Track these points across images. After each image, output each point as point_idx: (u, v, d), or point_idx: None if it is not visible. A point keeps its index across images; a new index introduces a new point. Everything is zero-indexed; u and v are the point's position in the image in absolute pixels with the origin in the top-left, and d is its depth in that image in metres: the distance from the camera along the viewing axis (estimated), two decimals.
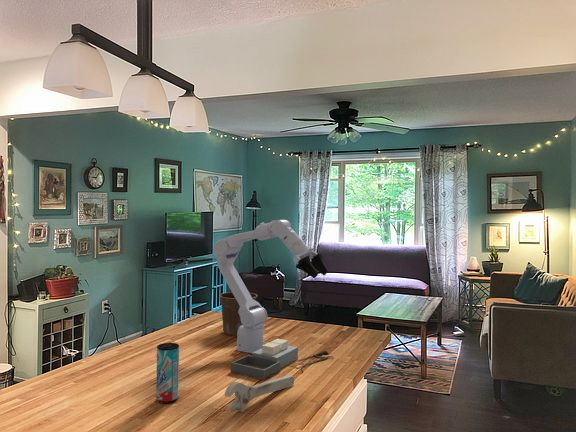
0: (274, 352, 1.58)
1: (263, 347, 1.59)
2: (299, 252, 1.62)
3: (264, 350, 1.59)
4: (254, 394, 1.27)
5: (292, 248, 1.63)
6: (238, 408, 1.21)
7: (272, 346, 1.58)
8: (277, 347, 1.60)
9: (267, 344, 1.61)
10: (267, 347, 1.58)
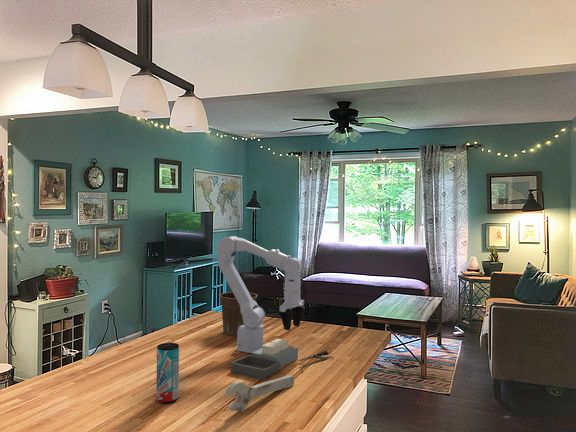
0: (274, 352, 1.58)
1: (263, 347, 1.59)
2: (289, 301, 1.69)
3: (264, 350, 1.59)
4: (254, 394, 1.27)
5: (287, 292, 1.70)
6: (238, 408, 1.21)
7: (272, 346, 1.58)
8: (277, 347, 1.60)
9: (267, 344, 1.61)
10: (267, 347, 1.58)
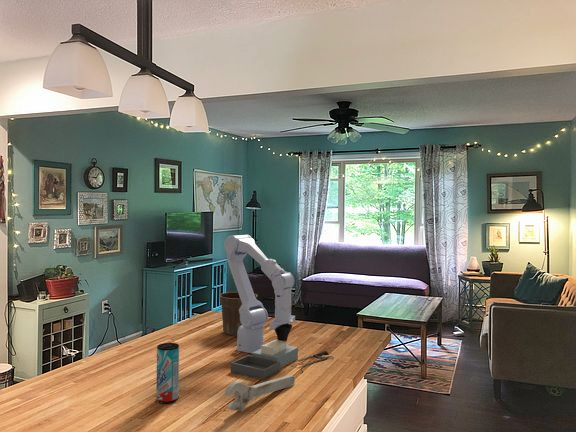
0: (273, 352, 1.58)
1: (262, 347, 1.59)
2: (280, 317, 1.64)
3: (263, 350, 1.59)
4: (254, 394, 1.27)
5: (277, 309, 1.64)
6: (238, 408, 1.22)
7: (271, 346, 1.58)
8: (276, 347, 1.59)
9: (266, 344, 1.60)
10: (266, 347, 1.58)
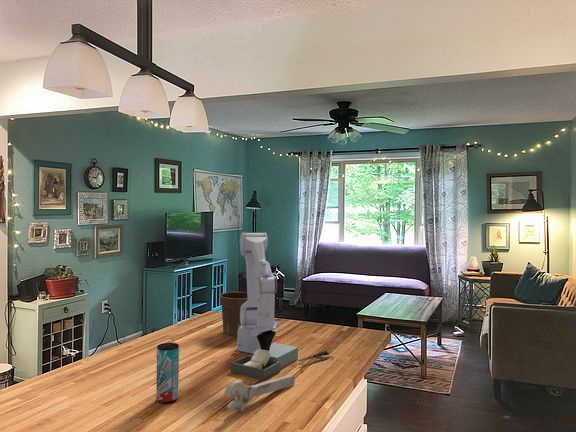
0: (260, 365, 1.51)
1: None
2: (262, 324, 1.54)
3: None
4: (254, 393, 1.27)
5: (259, 315, 1.55)
6: (238, 407, 1.22)
7: None
8: None
9: None
10: None
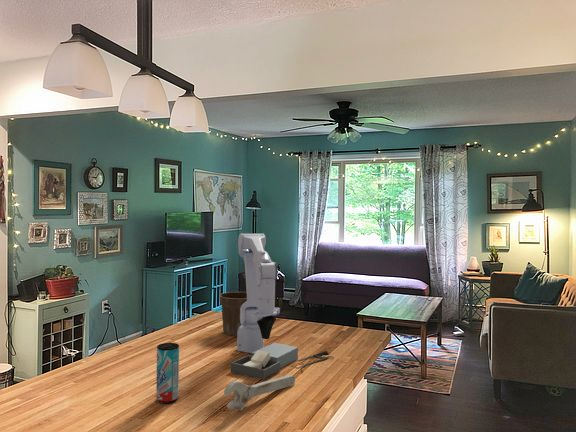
0: (260, 365, 1.51)
1: None
2: (262, 309, 1.55)
3: None
4: (253, 393, 1.27)
5: (260, 300, 1.55)
6: (237, 407, 1.22)
7: None
8: None
9: None
10: None
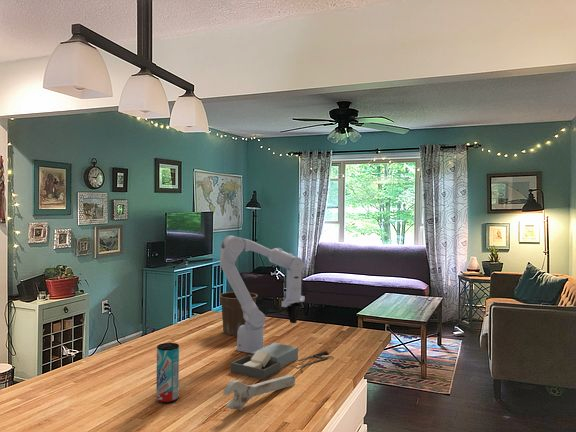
0: (260, 365, 1.51)
1: None
2: (291, 297, 1.77)
3: None
4: (253, 393, 1.27)
5: (288, 289, 1.78)
6: (237, 406, 1.22)
7: None
8: None
9: None
10: None
